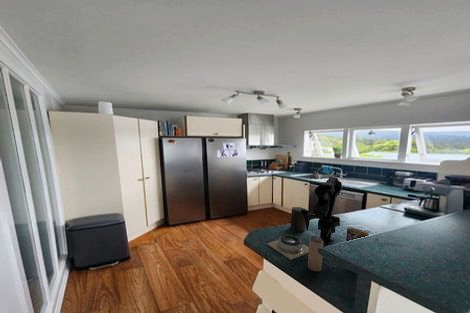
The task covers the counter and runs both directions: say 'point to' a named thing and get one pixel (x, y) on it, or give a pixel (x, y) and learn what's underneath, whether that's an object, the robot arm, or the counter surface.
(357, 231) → the candy box
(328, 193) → the robot arm
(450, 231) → the counter surface
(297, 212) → the pillar candle
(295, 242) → the motor mount
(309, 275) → the counter surface
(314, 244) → the beige cylinder
